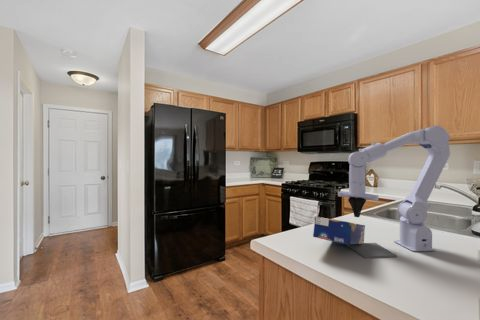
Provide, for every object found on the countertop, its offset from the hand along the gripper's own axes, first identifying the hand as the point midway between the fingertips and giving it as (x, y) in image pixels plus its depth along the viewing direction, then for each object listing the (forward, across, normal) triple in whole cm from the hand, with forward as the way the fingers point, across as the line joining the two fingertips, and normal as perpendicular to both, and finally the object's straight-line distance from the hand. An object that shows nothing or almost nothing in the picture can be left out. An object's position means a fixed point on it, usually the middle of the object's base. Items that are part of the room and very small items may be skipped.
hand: (357, 216), depth 90 cm
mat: (+9, -7, +7) cm, 14 cm away
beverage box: (+6, +2, +2) cm, 7 cm away
